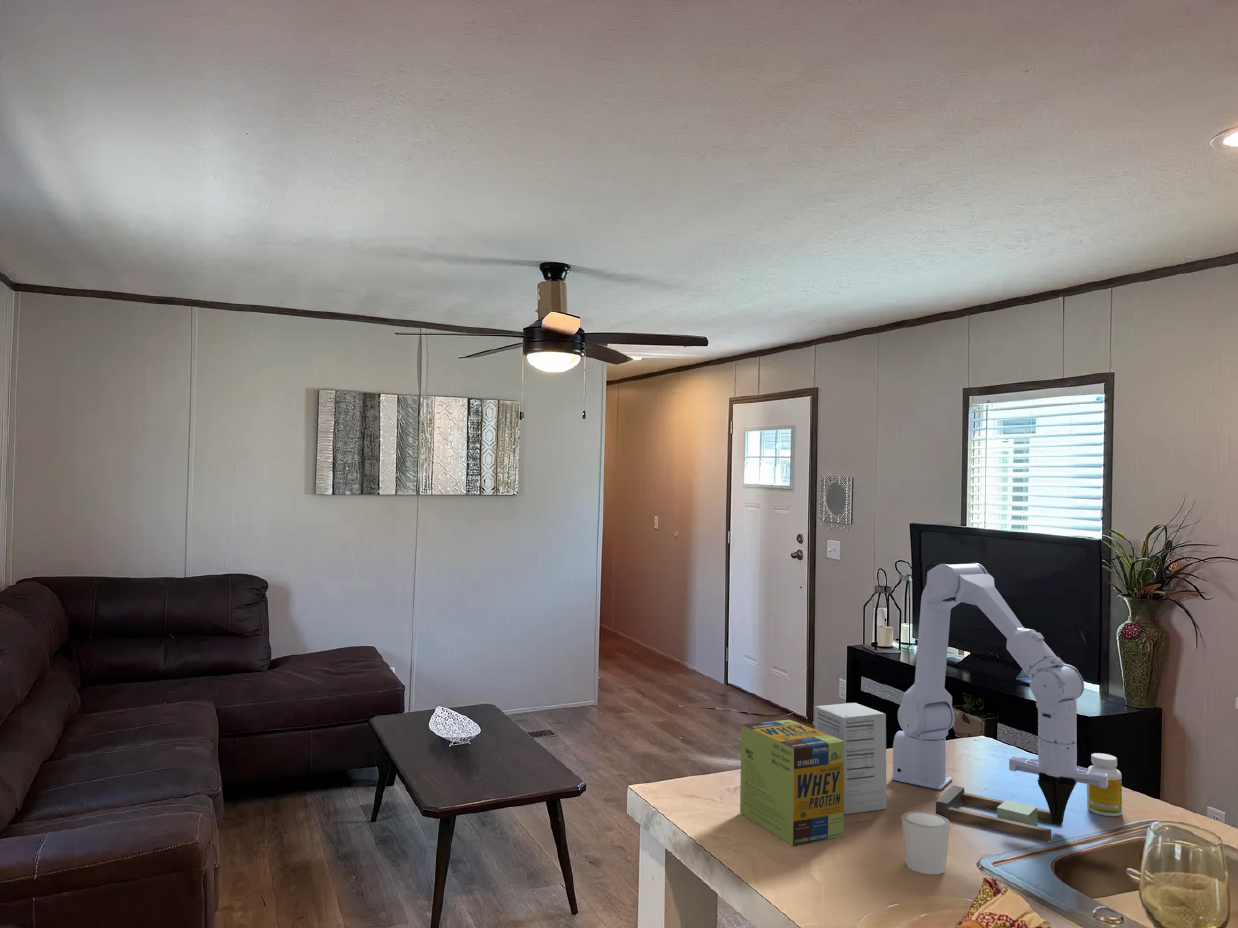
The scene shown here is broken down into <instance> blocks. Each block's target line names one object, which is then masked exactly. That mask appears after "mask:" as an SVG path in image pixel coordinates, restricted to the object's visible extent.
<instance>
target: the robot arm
mask: <svg viewBox="0 0 1238 928" xmlns="http://www.w3.org/2000/svg"><path fill="white" fill-rule="evenodd" d="M920 599H921V600H920V611H919V621H918V622H919V623H918V635H917V636H918V637H917V647H916V648H917V651H916V660H915V661H916V662H915V672H914V673H915V675H914V683H913V684H912V685H911V686H910V687H909V688H908V689H907V690H906V691H905V692H904V693H903V694H902V700H901V704H900V706H899V708H898V709H897V710H898V711H897V720H898V721H897V722H898V724H899V726H900V728H901V729H902V730H898V731H897V732H896V733H895V735H894V737H893V744H892V777H891V780H892V781H898V782H902V783H906V784H911V785H915V786H920V787H924V788H929V789H934V790H939V791H941V790H942V789H944V788H945V787H946V786H947V785H948V784H950V782H951V781H953V777H952V776H949V775H947V774H946V773H947V772H946V770H947V769H946V766H947V763H946V759H947V758H946V757H947V755H946V753H947V752H946V750H947V749H946V747H947V745H946V743H947V742H946V737H947V736H949V730H951V729H952V728H953V726H954V724H955V712H954V708H953V696H952V695H951V694H950V693H949V692H948V690H947V689H946V688H945V686H946V684H945V683H946V672H947V661H948V651H949V650H948V648H949V647H948V646H949V638H950V637H949V636H950V624H951V623H950V622H951V613H952V612H951V610H952V609H954V607H956V606H958V605H959V604H960V603H965V604H969V605H972V606H976V607H978V609H979V610H980V611H982V613H984V615H985V616H986V617H987V618H988V620H990V621H991V623H993V625H994V626H995V627H996V628H997V629H998V630H999V631H1000V632H1001V634H1003V636H1004V637H1005V638H1006V645H1005V647H1006V650H1007V651H1008V652H1009V654H1010V655H1011V657H1012V658H1013V659H1014V660H1015V661H1016V662H1017V664H1018V665H1019V666H1020V668H1021V669H1022V670H1023V671H1024V673H1025V674H1026V675H1027V676H1028V678H1029V679H1030V681H1029V687H1030V691H1031V693H1032V695H1033V697H1034V700H1035V704H1036V705H1035V707H1036V708H1037V713H1038V714H1037V717H1038V718H1037V723H1038V724H1037V726H1038V727H1037V728H1038V729H1037V733H1038V734H1037V735H1038V736H1037V743H1038V744H1037V747H1038V748H1037V751H1038V752H1037V753H1038V754H1037V758H1038V759H1036V758H1029V757H1027V758H1026V757H1018V756H1011V757H1009V759H1008V760H1009V762H1008V763H1009V764H1008V766H1009V768H1008V770H1009V771H1011V772H1018V771H1019V772H1023V773H1029V774H1034V775H1038V779H1037V785H1038V787H1039V788H1040V790H1041V792H1042V795H1043V796H1044V798H1045V799H1044V800H1045V801H1046V804H1047V806H1048V809H1049V811H1050V814H1051V819H1052V823H1051V824H1054V823H1055V824H1056V825H1063V823H1064V817H1065V812H1066V808H1067V805H1068V802H1069V799H1070V797H1071V795H1072V793H1073V790H1075V789H1074V788H1075V786H1076V785H1077V783H1081V784H1086V785H1087V784H1091V785H1096V786H1099V787H1100V788H1105V789H1106V788H1107V787H1108V774H1106V773H1101V772H1097V771H1093V770H1090V769H1088V768H1087V767H1082V766H1080V765H1079V766H1078V765H1077V764H1078V763H1077V762H1078V761H1077V759H1078V758H1077V757H1078V756H1077V755H1078V754H1077V753H1078V752H1077V749H1078V748H1077V747H1078V746H1077V739H1078V738H1077V733H1078V732H1077V729H1078V728H1077V727H1078V725H1077V720H1078V719H1077V712H1078V711H1077V710H1078V709H1077V699H1080V698H1081V696H1082V695H1083V693H1084V691H1085V682H1084V679H1083V676H1082V675H1081V673H1080V672H1079V670H1078V669H1077V668H1076V667H1075V666H1073V665H1071V664H1067V663H1066V662H1064V661H1063V660H1062V659H1061V658H1060V656H1057V655H1056V654H1055V653H1054V651H1053V650H1052V649H1051V648H1050V647H1049V645H1047V643H1046V642H1045V640H1044V639H1045V637H1044V636H1043V634H1042V633H1041V632H1037V630H1035V629H1032V628H1025V626H1023V625H1022V623H1021V622H1020V620H1019V619H1018V618H1017V616H1016V614H1015V613H1014V612H1013V610H1012V609H1011V608H1010V606H1009V604H1008V603H1007V602H1006V600H1005V599H1004V598H1003V596H1002V595H1001V594H1000V592H999V591H998V590H997V588H996V586H995V578H994V577H993V576H992V575H991V574H990V573H988V571H987V569H986V567H984V566H983V565H982V564H980V563H977V562H971V563H970V562H969V563H958V564H957V563H956V564H954V563H953V564H946V563H940V564H937V565H936V566H935V567H933V568H931V569H929V571H927V576H926V584H925V586H924V589H923V590H922V593H921V597H920ZM1055 824H1054V825H1055Z"/></svg>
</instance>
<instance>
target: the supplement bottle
mask: <svg viewBox="0 0 1238 928" xmlns="http://www.w3.org/2000/svg"><path fill="white" fill-rule="evenodd" d="M1090 755H1091V756H1090V757H1091V758H1090V761H1091V763H1092V765H1090V766H1088V768H1087V769H1090V770H1093V771H1097V772H1101V773H1106V774H1108V787H1107V788H1106V789H1105V788H1100V787H1099V786H1096V785H1091V784H1086V805H1087V806H1086V807H1087V810H1089V811H1090V812H1091V813H1094V814H1096V815H1100V816H1104V817H1119V816H1121V815H1123V814H1122V813H1123V790H1122V789H1123V788H1122V787H1123V784H1122V783H1123V782H1122V781H1123V780H1122V772H1121V771H1120V770H1119V769H1117V767H1118V758H1117V757H1116V756H1115V755H1111V754H1109V753H1103V752H1102V753H1100V752H1097V753H1096V752H1094V753H1091V754H1090Z"/></svg>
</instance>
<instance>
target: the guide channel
mask: <svg viewBox="0 0 1238 928" xmlns="http://www.w3.org/2000/svg"><path fill="white" fill-rule="evenodd" d="M1004 801H1005V800H1001V799H996V798H993V797H987V796H981V795H977V794H974V793H973V794H972V793H968V792H965V787H963V786H957V785H954V784H952V786H951V787H949V788H948V789H947V790H946V791H945V792H944V793H943V794H941V796H939V797H938V798H937V800H935V814H937V815H940V816H943V817H945V818H946V819H948V820H954V821H956V822H957V821H958V822H962V823H966V824H970V825H975V826H979V827H980V826H981V827H983V828H988V829H992V830H997V831H1001V832H1006V833H1009V834H1014V835H1018V836H1023V837H1027V838H1031V839H1036V840H1040V841H1044V842H1048V841H1050V842H1051V841H1052V829H1050V828H1047V827H1041V826H1037V825H1035V826H1033V825H1028V824H1024V823H1019V822H1015V821H1010V820H1006V819H1001V818H997V816H993V815H991V816H990V815H987V814H984V813H978V812H975V811H970V810H965V809H960V808H959V807H961V806H962V805H963V804H964V805H968V806H974V807H977V808H980V809H981V808H982V809H987V810H992V811H995V812H997V807H998V806H999V805H1001V804H1002V803H1003V802H1004ZM1037 821H1041V822H1047V823H1051V824H1054V825H1055V823H1052V819H1051V814H1050V810H1047V809H1044V808H1038V807H1037Z"/></svg>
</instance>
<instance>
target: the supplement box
mask: <svg viewBox="0 0 1238 928" xmlns="http://www.w3.org/2000/svg"><path fill="white" fill-rule="evenodd" d="M886 718H887V714H886V713H884V712H882V711H879V710H876V709H873V708H871V707H868V706H865V705H862V704H859V703H857V702H846V703H834V704H823V705H815V706H814V729H815V730H818V731H820V732H823V733H825V734H827V735H830V736H833V737H835V738H838V739H841V740H843V741H844V815H848V814H850V815H851V814H858V813H864V812H865V813H866V812H873V811H880V810H887V726H886V725H887V723H886V722H887V719H886Z"/></svg>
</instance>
